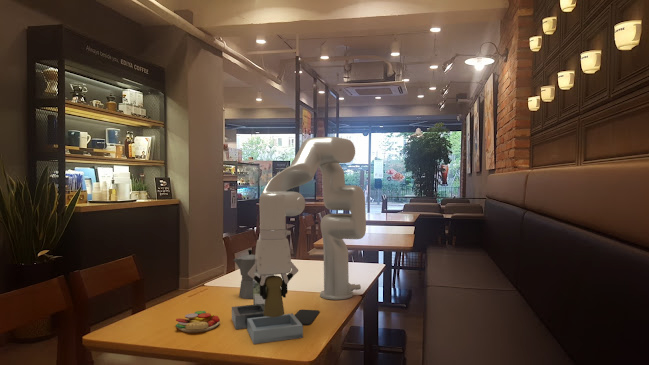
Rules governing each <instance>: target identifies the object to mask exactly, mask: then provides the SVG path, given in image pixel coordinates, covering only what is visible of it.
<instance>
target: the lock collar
mask: <svg viewBox="0 0 649 365" xmlns="http://www.w3.org/2000/svg"><path fill="white" fill-rule="evenodd" d="M264 306H265V305H264V304H255V305H253V304H248V305H237V306H236V305H235V306H231V322H232V323H233V326H234V329H235V330H242V329H247V318H256V317H265V316H264Z"/></svg>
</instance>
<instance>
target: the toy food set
mask: <svg viewBox="0 0 649 365" xmlns="http://www.w3.org/2000/svg"><path fill="white" fill-rule="evenodd" d="M220 320H221V319H220V317H219V316H218V315H215V314H211V313H209V312H208V313H207V312H206V311H205V310H197V311H195V312H193V313H188V314H185V315H184V318H176V319H175V321H176V322H178V323H177V324H175V328H177V329H178V330H179V331H180V332H184V333H190V334H191V333H204V332H208V331H211V330H214V329H215V328H217V327H218V326H219V325H220V323H221V321H220Z"/></svg>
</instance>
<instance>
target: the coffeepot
mask: <svg viewBox="0 0 649 365" xmlns="http://www.w3.org/2000/svg"><path fill="white" fill-rule="evenodd" d="M247 251H248V254H245V255H242V256H240V257H235V258H234V259H233V262H235V264H236V265H237V268H239V271H240V276H241V281H240V287H239V294H238V297H239V298H240V299H243V300H244V299H245V300H253V278H251V277H250V276H249V275H248V272H249V271H250V269H251V268H252V267H253V265H254V264H255V254H253V249H249V250H247Z"/></svg>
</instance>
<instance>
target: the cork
mask: <svg viewBox="0 0 649 365" xmlns="http://www.w3.org/2000/svg"><path fill="white" fill-rule="evenodd" d="M265 286H266V288H267V289H266V299H265V306H264V316H267V317H278V316H282V315H284V314H285V307H284V302H283V297H282V293H281V286H282V277H281V275H280V276H279V275H274V276H268V277H266V279H265Z"/></svg>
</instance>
